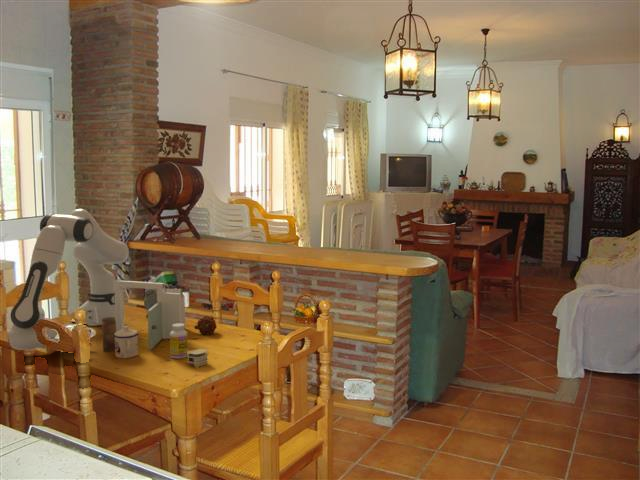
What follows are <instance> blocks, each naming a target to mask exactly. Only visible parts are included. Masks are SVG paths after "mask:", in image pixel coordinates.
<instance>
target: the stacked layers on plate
mask: <svg viewBox="0 0 640 480" xmlns="http://www.w3.org/2000/svg"><path fill="white" fill-rule="evenodd" d="M208 351H209V350H207V349H205V348H199V349H191V350H188V351H187V353H188V355H187V357H186V358H188V359H187V361H186V362H187V363H191V364H193V367H194V366H195V367H194V368H200V367H199V366H201V365H202V366H205V365H207V364H208V361H209V358H208V356H209V353H207V352H208ZM204 364H205V365H204Z"/></svg>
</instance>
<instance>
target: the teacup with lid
mask: <svg viewBox="0 0 640 480" xmlns="http://www.w3.org/2000/svg"><path fill="white" fill-rule="evenodd" d="M138 335H139V332H138V330H135V329H132V328H130V327H129V326H128V325H124V327H123V329H121V330H120V331H117V332H115V334H114V336H115V351H114V352H115V357H116V358H118V359H130V358H134V357H136V356H137V355H139V340H138V339H139V337H138Z"/></svg>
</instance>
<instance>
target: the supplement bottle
mask: <svg viewBox="0 0 640 480" xmlns="http://www.w3.org/2000/svg"><path fill="white" fill-rule="evenodd" d="M172 328H173V331H171V333H170V339H169V346H170V347H169V349H170V350H169V351H170V353H169V354H170V357H171V358H172V359H175V360H176V359H177V360H179V359H185V358H188V357H187V355H188V354H189V353H187V351H189V350H188V331H186V330H185V329H186V324H185V325H184V324H182V323H177V324H173V325H172Z"/></svg>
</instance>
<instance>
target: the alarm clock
mask: <svg viewBox="0 0 640 480" xmlns="http://www.w3.org/2000/svg"><path fill="white" fill-rule="evenodd" d="M166 289H167V288H166V287H165V292H166ZM144 295H145V297H144V299H143V305H144V309H145V311H147V313H146V315H145V317H146V318H148V310H149V309H150V308H151V307H153V306H154V305H155V304H156V303H157V289H145V290H144Z"/></svg>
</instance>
